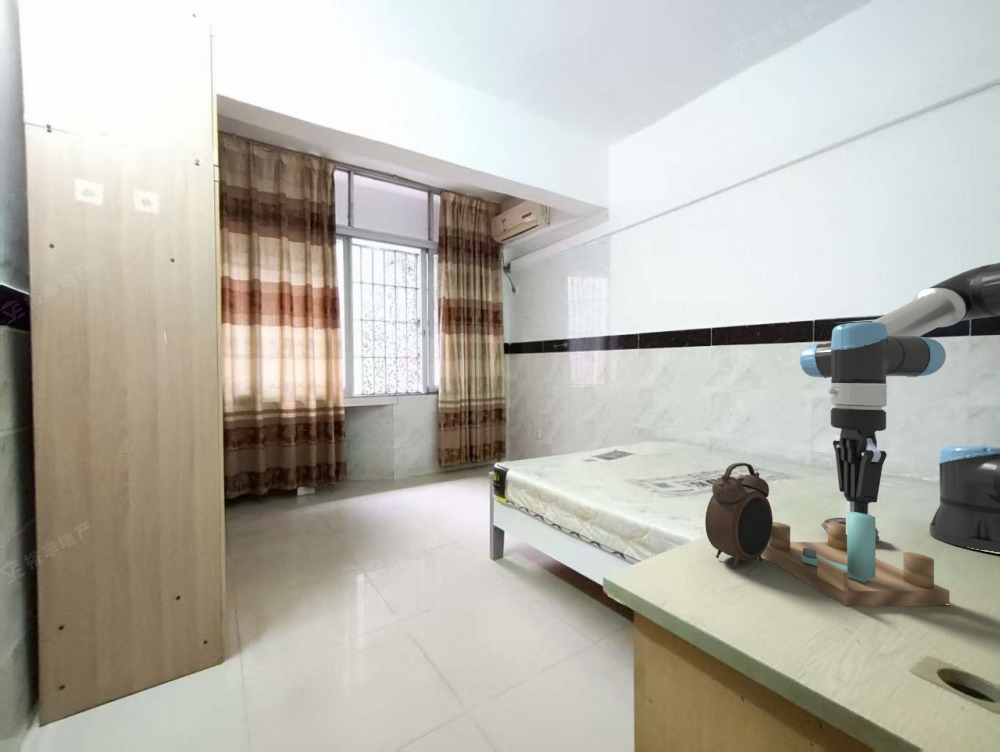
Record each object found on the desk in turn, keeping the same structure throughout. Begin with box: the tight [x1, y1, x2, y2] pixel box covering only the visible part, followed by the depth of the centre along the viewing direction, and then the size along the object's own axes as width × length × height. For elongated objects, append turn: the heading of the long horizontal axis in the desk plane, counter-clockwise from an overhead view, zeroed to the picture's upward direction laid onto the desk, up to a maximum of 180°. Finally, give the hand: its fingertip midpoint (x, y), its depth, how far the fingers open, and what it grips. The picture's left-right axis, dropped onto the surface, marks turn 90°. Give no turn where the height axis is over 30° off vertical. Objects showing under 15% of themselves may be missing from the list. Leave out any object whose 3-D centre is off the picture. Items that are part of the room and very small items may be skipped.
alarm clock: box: [704, 462, 774, 569], centre depth 80 cm, size 14×7×20 cm, turn 117°
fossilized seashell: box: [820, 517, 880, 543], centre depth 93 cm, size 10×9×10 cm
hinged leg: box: [802, 512, 876, 582], centre depth 71 cm, size 4×10×11 cm, turn 30°
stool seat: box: [761, 521, 951, 608], centre depth 75 cm, size 18×20×7 cm
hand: (856, 536), depth 71 cm, fingers closed
